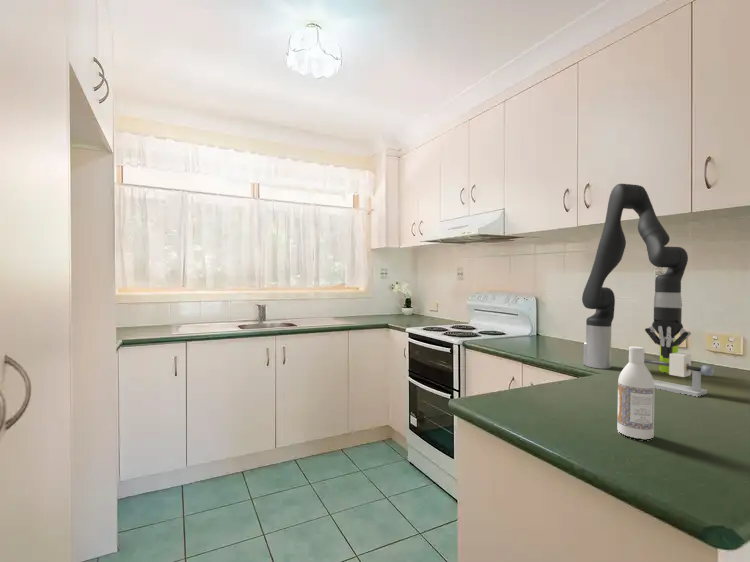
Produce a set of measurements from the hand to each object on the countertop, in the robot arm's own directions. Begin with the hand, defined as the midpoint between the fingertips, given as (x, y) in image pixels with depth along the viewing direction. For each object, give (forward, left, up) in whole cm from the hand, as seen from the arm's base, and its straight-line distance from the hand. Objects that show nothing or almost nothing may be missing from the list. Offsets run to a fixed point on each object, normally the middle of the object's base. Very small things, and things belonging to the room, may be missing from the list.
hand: (666, 357), depth 134 cm
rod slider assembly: (+1, 0, -10) cm, 10 cm away
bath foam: (+15, -56, -10) cm, 59 cm away
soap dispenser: (-10, +31, -10) cm, 34 cm away
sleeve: (+4, 0, -5) cm, 6 cm away
